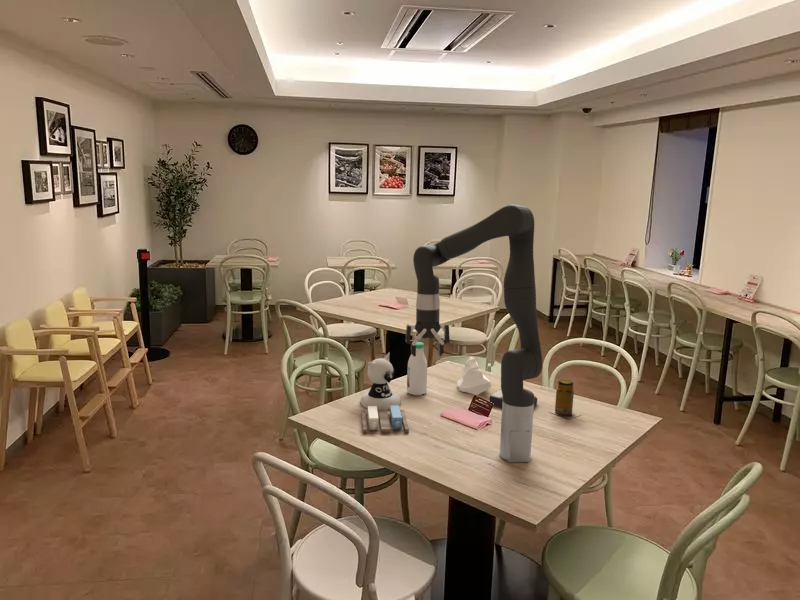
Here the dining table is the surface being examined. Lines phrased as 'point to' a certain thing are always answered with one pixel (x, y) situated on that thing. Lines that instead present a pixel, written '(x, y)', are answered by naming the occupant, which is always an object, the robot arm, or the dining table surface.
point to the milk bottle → (417, 372)
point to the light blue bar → (395, 417)
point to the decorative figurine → (380, 385)
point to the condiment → (564, 399)
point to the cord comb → (384, 423)
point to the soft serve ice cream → (473, 378)
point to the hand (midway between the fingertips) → (427, 355)
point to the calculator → (498, 399)
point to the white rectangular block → (373, 418)
